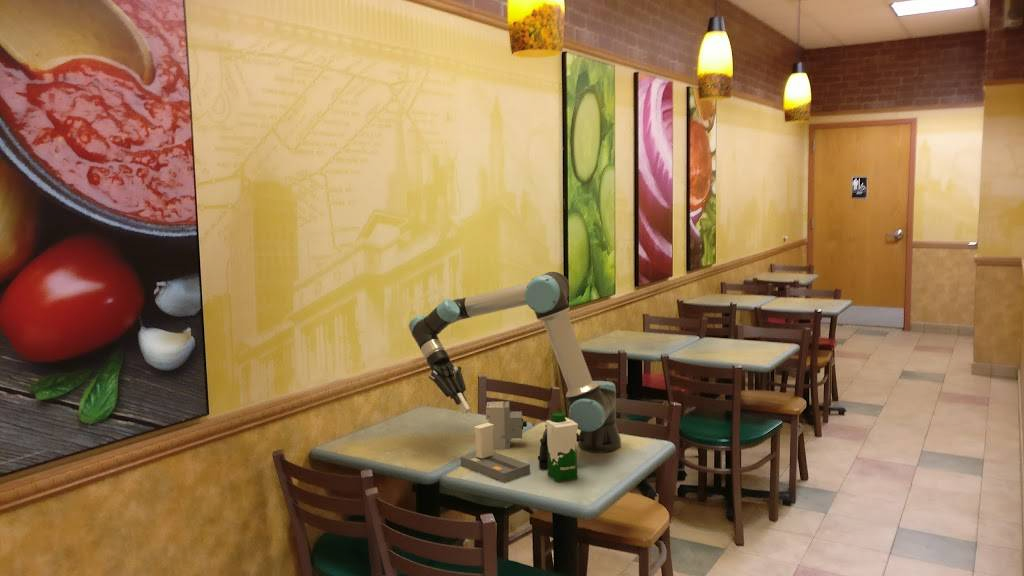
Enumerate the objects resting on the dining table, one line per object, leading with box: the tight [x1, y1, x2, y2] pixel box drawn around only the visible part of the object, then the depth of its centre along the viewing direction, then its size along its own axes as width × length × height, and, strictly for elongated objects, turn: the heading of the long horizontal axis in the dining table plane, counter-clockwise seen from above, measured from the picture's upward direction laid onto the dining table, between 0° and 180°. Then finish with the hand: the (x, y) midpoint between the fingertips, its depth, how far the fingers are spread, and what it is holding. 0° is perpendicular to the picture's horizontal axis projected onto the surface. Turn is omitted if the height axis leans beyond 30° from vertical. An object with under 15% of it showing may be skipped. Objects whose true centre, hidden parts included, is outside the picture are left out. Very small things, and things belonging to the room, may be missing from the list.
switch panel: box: [460, 450, 531, 484], centre depth 262 cm, size 22×11×3 cm, turn 42°
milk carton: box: [545, 411, 579, 483], centre depth 252 cm, size 9×9×20 cm
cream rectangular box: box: [473, 422, 494, 458], centre depth 265 cm, size 3×6×10 cm, turn 132°
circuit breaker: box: [485, 400, 528, 450], centre depth 285 cm, size 8×14×15 cm, turn 89°
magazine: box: [537, 424, 580, 471], centre depth 262 cm, size 4×13×15 cm, turn 99°
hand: (466, 411), depth 270 cm, fingers closed
